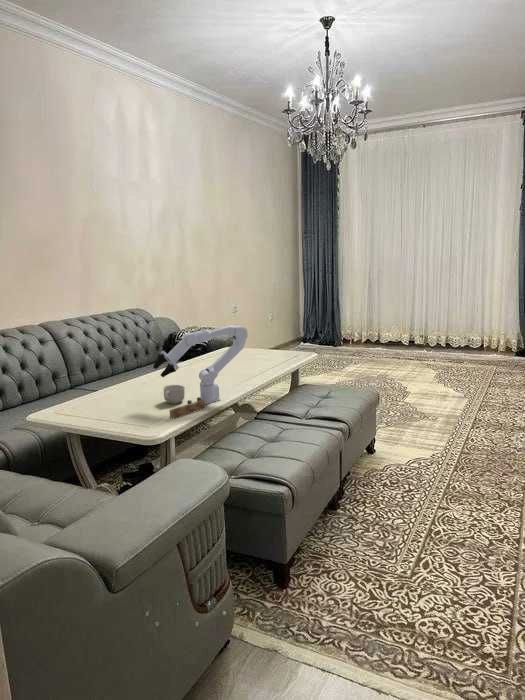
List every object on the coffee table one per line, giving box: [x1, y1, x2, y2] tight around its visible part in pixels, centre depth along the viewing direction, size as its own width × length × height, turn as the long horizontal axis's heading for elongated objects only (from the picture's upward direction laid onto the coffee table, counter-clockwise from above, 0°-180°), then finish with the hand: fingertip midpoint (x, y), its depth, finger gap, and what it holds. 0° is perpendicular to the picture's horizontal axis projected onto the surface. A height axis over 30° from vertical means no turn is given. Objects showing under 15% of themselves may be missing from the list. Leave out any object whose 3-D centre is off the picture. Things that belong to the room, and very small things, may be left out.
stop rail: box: [169, 396, 206, 420], centre depth 258 cm, size 20×4×5 cm, turn 137°
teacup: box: [163, 384, 186, 405], centre depth 274 cm, size 14×11×8 cm
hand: (157, 372), depth 266 cm, fingers open, 7 cm apart
